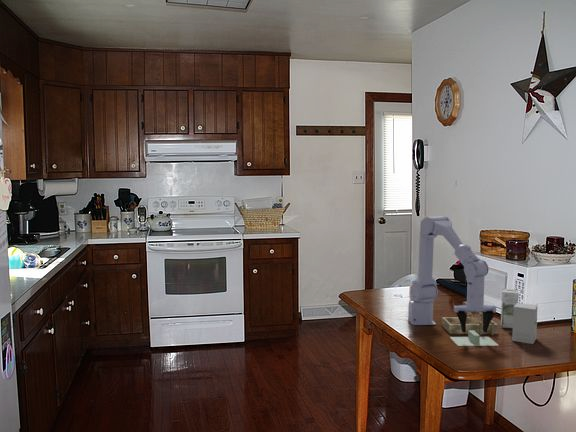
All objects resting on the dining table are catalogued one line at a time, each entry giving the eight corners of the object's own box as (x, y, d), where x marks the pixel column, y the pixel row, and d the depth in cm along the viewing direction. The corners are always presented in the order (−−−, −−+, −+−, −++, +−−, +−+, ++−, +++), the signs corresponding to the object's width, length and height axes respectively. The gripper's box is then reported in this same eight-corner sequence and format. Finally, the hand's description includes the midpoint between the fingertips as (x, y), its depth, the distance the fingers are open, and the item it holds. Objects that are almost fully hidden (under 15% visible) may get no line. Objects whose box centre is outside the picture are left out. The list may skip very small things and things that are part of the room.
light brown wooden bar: (472, 314, 211) (473, 309, 211) (462, 306, 223) (463, 301, 223) (479, 314, 211) (479, 309, 211) (468, 306, 223) (468, 301, 223)
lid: (458, 347, 188) (458, 337, 187) (449, 339, 197) (449, 329, 197) (498, 347, 188) (499, 337, 187) (488, 338, 197) (488, 328, 197)
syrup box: (516, 325, 212) (517, 289, 211) (517, 329, 206) (518, 292, 205) (500, 323, 214) (501, 288, 212) (501, 328, 208) (502, 291, 207)
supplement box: (534, 344, 189) (535, 309, 188) (511, 340, 193) (512, 306, 192) (536, 338, 195) (538, 304, 194) (515, 335, 199) (516, 302, 198)
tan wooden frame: (450, 335, 200) (451, 322, 199) (440, 325, 212) (441, 313, 212) (499, 335, 200) (499, 322, 199) (486, 324, 213) (486, 313, 212)
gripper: (458, 297, 187) (457, 335, 188) (500, 297, 187) (498, 335, 188) (452, 292, 194) (451, 329, 195) (492, 292, 194) (491, 329, 195)
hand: (474, 331), depth 192 cm, fingers open, 7 cm apart
